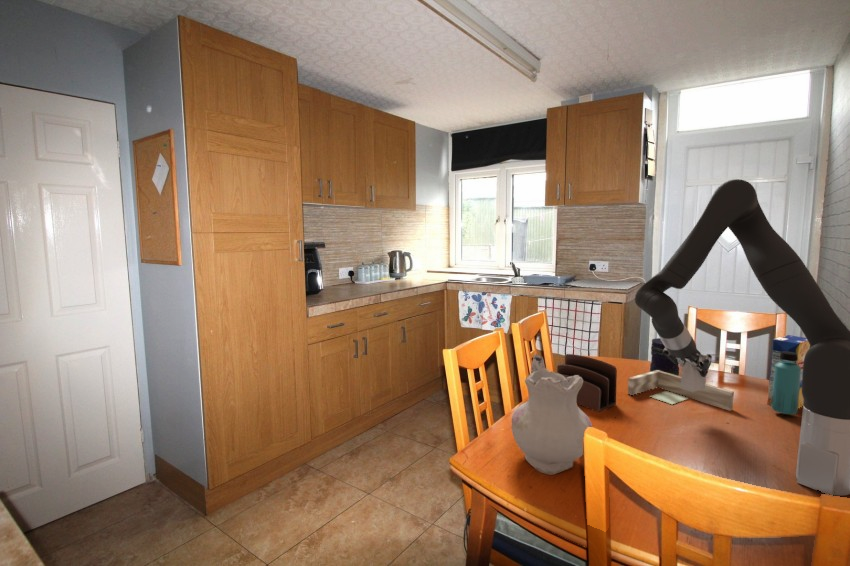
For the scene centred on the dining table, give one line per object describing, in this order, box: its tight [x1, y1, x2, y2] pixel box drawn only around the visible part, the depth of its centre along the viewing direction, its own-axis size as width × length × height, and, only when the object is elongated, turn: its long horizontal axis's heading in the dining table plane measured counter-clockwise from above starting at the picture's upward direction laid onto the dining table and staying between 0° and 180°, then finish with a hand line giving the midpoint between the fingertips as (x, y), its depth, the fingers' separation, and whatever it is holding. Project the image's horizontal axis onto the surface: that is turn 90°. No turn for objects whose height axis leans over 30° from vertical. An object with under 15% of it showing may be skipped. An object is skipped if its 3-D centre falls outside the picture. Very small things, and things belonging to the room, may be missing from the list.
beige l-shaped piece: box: [627, 370, 735, 412], centre depth 145 cm, size 17×25×6 cm, turn 30°
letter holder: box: [556, 353, 618, 413], centre depth 147 cm, size 10×20×14 cm, turn 36°
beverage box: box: [766, 334, 811, 409], centre depth 141 cm, size 7×11×22 cm, turn 120°
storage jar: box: [649, 337, 680, 376], centre depth 166 cm, size 10×10×15 cm
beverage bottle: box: [770, 351, 801, 415], centre depth 133 cm, size 6×7×20 cm
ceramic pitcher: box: [511, 353, 593, 476], centre depth 108 cm, size 22×20×25 cm
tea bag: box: [680, 361, 707, 392], centre depth 131 cm, size 4×7×10 cm, turn 121°
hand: (697, 372), depth 132 cm, fingers closed on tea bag, 3 cm apart
